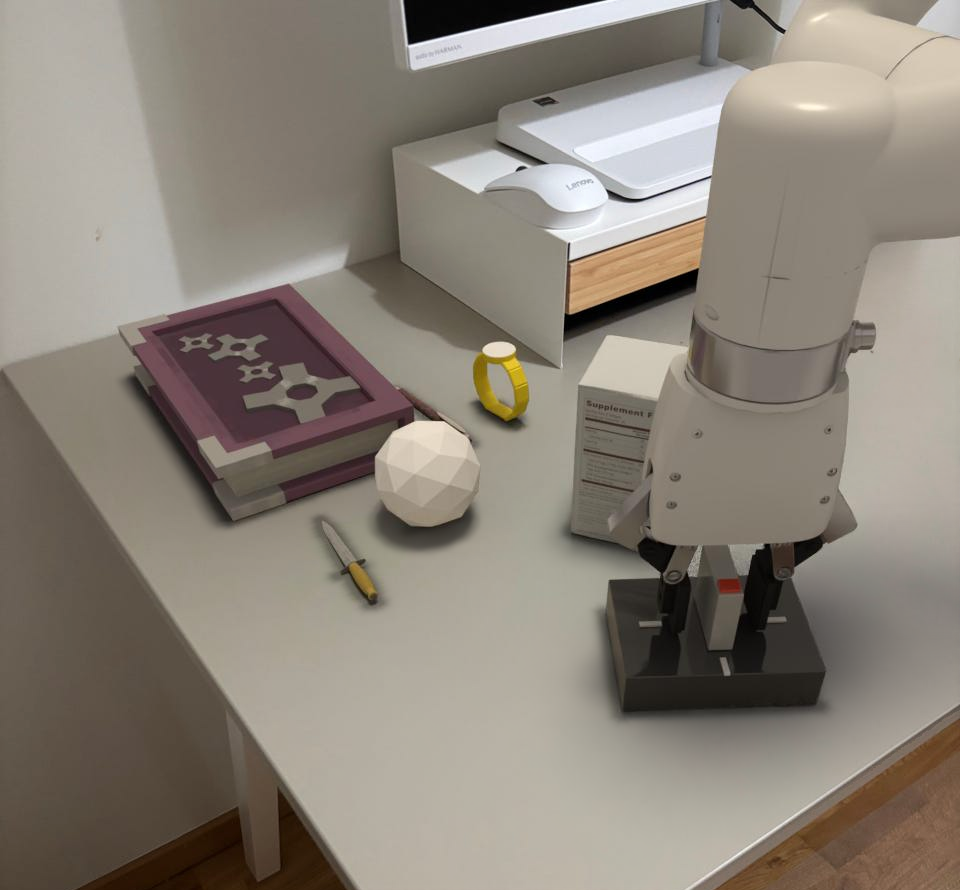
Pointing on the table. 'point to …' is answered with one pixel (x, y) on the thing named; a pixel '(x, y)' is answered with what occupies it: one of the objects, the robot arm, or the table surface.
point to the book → (266, 396)
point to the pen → (431, 412)
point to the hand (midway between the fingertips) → (714, 614)
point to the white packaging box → (615, 427)
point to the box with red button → (718, 596)
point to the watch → (507, 358)
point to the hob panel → (709, 654)
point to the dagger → (350, 562)
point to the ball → (427, 473)
